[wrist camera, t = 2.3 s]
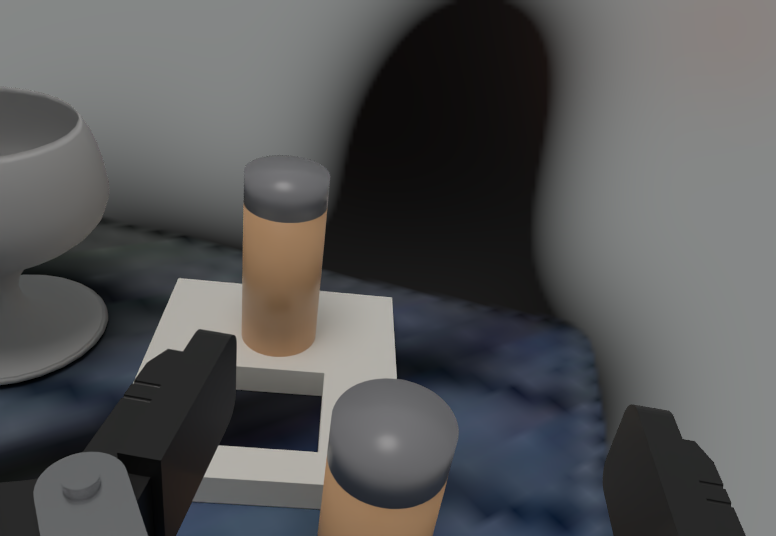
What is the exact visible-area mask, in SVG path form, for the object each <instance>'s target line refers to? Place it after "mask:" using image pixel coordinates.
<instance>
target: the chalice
mask: <svg viewBox="0 0 776 536" xmlns="http://www.w3.org/2000/svg"><path fill="white" fill-rule="evenodd" d="M108 198H109V181H108V177H107V173H106V169H105V166H104V162H103V158H102V155H101V152H100V149H99V147H98V144H97V142H96V140H95V138H94V136H93V134H92V132H91V130H90V128H89V127H88V125H87V124H86V123H85V121H84V119H83V118H82V116H81V115H80V114H79V113H78V112H77V111H76V110H75V109H74V108H73V107H72V106H71V105H70V104H68V103H67V102H65V101H63V100H61V99H59V98H56V97H53V96H50V95H47V94H44V93H40V92H36V91H31V90H25V89H18V88H10V87H0V385H5V384H12V383H18V382H22V381H26V380H30V379H33V378H37V377H41V376H43V375H46V374H48V373H51V372H53V371H55V370H58V369H60V368H62V367H65V366H66V365H68V364H70V363H71V362H73V361H75V360H76V359H78V358H79V357H81V356H83V355H84V354H85V353H86V352H87V351H88V350H89V349H91V348H92V347H93V346H94V345H95V344H96V343H97V341H98V340H99V339H100V337H101V336H102V334H103V333H104V332H105V328H106V325H107V322H108V310H107V307H106V305H105V303H104V301H103V299H102V298H101V297H100V296H99V295H98V294H97V293H96V292H95V291H93V290H92V289H90V288H88V287H86V286H84V285H83V284H81V283H78V282H75V281H72V280H69V279H65V278H62V277H55V276H48V275H21V273H22V272H23V270H24V269H27V268H31V267H34V266H37V265H40V264H42V263H44V262H47V261H49V260H52V259H54V258H56V257H58V256H60V255H61V254H63V253H65V252H67V251H68V250H70V249H71V248H73V247H74V246H76V245H77V244H79V243H80V242H82V241H83V240H84V239H85V238H86V237H87V236H88V235H89V234H90V233H91V232H92V231H93V229H94V228H95V227H96V225H97V224H98V223H99V222H100V220H101V219H102V216H103V213H104V210H105V207H106V204H107V201H108Z"/></svg>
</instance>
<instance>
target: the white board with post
mask: <svg viewBox="0 0 776 536" xmlns="http://www.w3.org/2000/svg"><path fill="white" fill-rule="evenodd" d="M329 182H330V173H329V172H328V170H327V169H326V168H325V167H324V166H322V165H320V164H319V163H317V162H315V161H312V160H309V159H306V158H301V157H295V156H287V155H277V156H276V155H275V156H266V157H262V158H258V159H255V160H253V161H251V162H250V163H248V164H247V165H246V167H245V169H244V213H243V215H244V216H243V273H242V284H237V283H226V282H215V281H204V280H193V279H182V278H179V279H178V281H177V283H176V285H175V288H174V290H173V292H172V295H171V297H170V299H169V302H168V304H167V306H166V309H165V311H164V313H163V315H162V318H161V320H160V322H159V325H158V327H157V329H156V332H155V334H154V336H153V339H152V341H151V343H150V346H149V348H148V350H147V352H146V355H145V357H144V359H143V362H142V364H141V366H140V369H139V371H138V373H137V376H138V374H139V373H140V371H141V370H142V369H143V367H144V366H145V364H146V363H147V362H148V361H150V360H151V359H153V358H155V357H156V356H158V355H159V354H161V353H162V352H164V351H165V350H167V349H172V350H178V351H183V350H184V349H185V347H186V346H187V344H188V343H189V341H190V340H191V338H192V337H193V335H194V334H195V332H196V331H197V330H198V329H203V330H209V331H215V332H220V333H226V334H232V335H235V336H236V340H237V360H236V390H248V391H261V392H274V393H288V394H301V395H314V396H322V402H321V414H320V427H319V440H318V452H306V451H292V450H277V449H262V448H247V447H233V446H218V447H217V450H216V452H215V454H214V456H213V458H212V460H211V462H210V464H209V467H208V469H207V471H206V473H205V475H204V477H203V479H202V481H201V484H200V486H199V488H198V490H197V492H196V494H195V496H194V498H193V501H192V502H209V503H226V504H242V505H259V506H276V507H292V508H309V509H321V501H322V493H323V484H324V476H325V467H326V459H327V450H328V441H329V433H330V424H331V416H332V410H333V408H334V405H335V403H336V401H337V400H338V398H339V397H340V396H341V395H342V394H343V393H344V392H345V391H346V390H348V389H349V388H351V387H353V386H355V385H356V384H359V383H362V382H364V381H368V380H373V379H383V378H389V379H397V373H396V357H395V340H394V323H393V307H392V298H391V297H380V296H369V295H358V294H347V293H336V292H325V291H320V282H321V271H322V258H323V249H324V238H325V226H326V216H327V205H328V194H329ZM137 376H136V377H137ZM133 384H134V382H133Z"/></svg>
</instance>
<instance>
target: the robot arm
mask: <svg viewBox="0 0 776 536" xmlns="http://www.w3.org/2000/svg"><path fill="white" fill-rule="evenodd" d="M236 360H237V340H236V336H235V335H232V334H226V333H220V332H215V331H209V330H203V329H198V330H197V331H196V332H195V334H194V335H193V337H192V338H191V340H190V341H189V343H188V344H187V346H186V347H185V349H184V350H183V351H178V350H172V349H167V350H165V351H164V352H162V353H161V354H159V355H158V356H156V357H155V358H153V359H151V360H150V361H148V362H147V363H146V364H145V366H144V367H143V369H142V370H141V371H140V373H139V374H138V376H137V377H136V378H135V380H134V384H131V385H130V387H129V388H128V390H127V391H126V392H125V394H124V397H123V398H121V399H120V401H119V402H118V404H117V405H116V406H115V408H114V409H113V411H112V412H111V413H110V415H109V416H108V418H107V419H106V420H105V422H104V423H103V425H102V426H101V427H100V429H99V430H98V432H97V433H96V434H95V436H94V437H93V439H92V440H91V441H90V443H89V444H88V446H87V447H86V448H85V450H84V451H83V452H82V453H78V454H74V455H71V456H68V457H65V458H63V459H61V460H59V461H57V462H55V463H54V464H52V465H51V466H50V467H48V468H47V469H46V470H45V471H44V472H43V473H42V474H41V476H40V477H39V478H37V479H33V480H26V481H15V482H3V483H0V536H176V534H177V532H178V530H179V528H180V526H181V524H182V522H183V520H184V518H185V515H186V513H187V511H188V509H189V507H190V505H191V503H192V501H193V498H194V496H195V494H196V492H197V490H198V488H199V486H200V484H201V481H202V479H203V477H204V475H205V473H206V471H207V469H208V467H209V464H210V462H211V460H212V458H213V456H214V454H215V452H216V450H217V447H218V445H219V443H220V441H221V439H222V437H223V435H224V433H225V431H226V428H227V426H228V424H229V422H230V419H231V416H232V412H233V408H234V404H235V397H236ZM603 490H604V495H605V499H606V504H607V508H608V513H609V517H610V521H611V526H612V530H613V535H614V536H745V533H744V531H743V528H742V526H741V524H740V522H739V519H738V517H737V515H736V512H735V510H734V508H732V507H731V501H730V499H729V497H728V494H727V492H726V490H725V489H723V483H722V480H721V478H720V476H719V474H718V471H717V469H716V467H715V465H714V462H713V461H712V460H711V459H710V458H709V457H708V456H707V455H706V453H705V452H704V451H703V450H702V449H701V448H700V447H699V446H698V444H697V443H696V442H695V441H690V440H684V439H682V437H681V434H680V431H679V429H678V426H677V424H676V422H675V419H674V416H673V415H672V413H671V412H670V411H667V410H662V409H656V408H650V407H643V406H638V405H629V406H628V407H627V409H626V410H625V413H624V415H623V418H622V421H621V423H620V425H619V428H618V430H617V433H616V435H615V438H614V440H613V443H612V445H611V448H610V450H609V453H608V455H607V458H606V461H605V465H604V471H603Z"/></svg>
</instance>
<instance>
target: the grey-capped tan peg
mask: <svg viewBox="0 0 776 536" xmlns="http://www.w3.org/2000/svg"><path fill="white" fill-rule="evenodd" d="M458 434H459V431H458V424H457V420H456V418H455V415H454V413H453V412H452V410H451V408H450V407H449V406H448V405H447V403H446V402H445V401H444V400H443V399H442V398H440V397H439V396H438V395H437V394H435V393H434V392H432V391H431V390H429V389H427V388H425V387H423V386H421V385H418V384H416V383H413V382H409V381H405V380H400V379H389V378H383V379H373V380H368V381H364V382H362V383H359V384H356V385H355V386H353V387H351V388H349V389H348V390H346V391H345V392H344V393H343V394H342V395H341V396H340V397H339V398H338V400H337V401H336V403H335V405H334V408H333V410H332V416H331V424H330V433H329V441H328V450H327V459H326V467H325V476H324V484H323V493H322V501H321V510H320V518H319V527H318V536H433V532H434V528H435V524H436V520H437V517H438V513H439V509H440V505H441V501H442V498H443V494H444V490H445V486H446V482H447V478H448V475H449V471H450V467H451V463H452V459H453V456H454V452H455V448H456V444H457V440H458Z"/></svg>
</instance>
